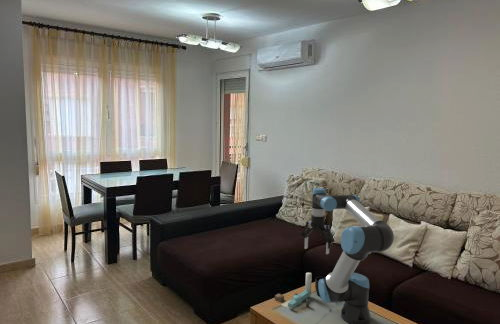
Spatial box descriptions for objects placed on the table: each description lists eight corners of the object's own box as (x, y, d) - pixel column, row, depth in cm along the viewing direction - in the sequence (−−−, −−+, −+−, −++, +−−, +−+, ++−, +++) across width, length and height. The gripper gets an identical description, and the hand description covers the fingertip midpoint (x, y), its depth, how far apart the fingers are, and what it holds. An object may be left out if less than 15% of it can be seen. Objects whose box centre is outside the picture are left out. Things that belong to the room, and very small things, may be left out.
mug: (335, 298, 212) (336, 283, 211) (315, 297, 213) (315, 282, 212) (333, 292, 220) (334, 277, 219) (314, 290, 221) (314, 276, 220)
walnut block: (284, 295, 207) (278, 293, 209) (280, 297, 204) (274, 295, 207) (283, 301, 207) (278, 299, 210) (280, 303, 204) (274, 301, 207)
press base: (312, 307, 201) (312, 298, 201) (302, 315, 193) (302, 306, 192) (290, 299, 210) (290, 290, 209) (280, 306, 201) (280, 298, 200)
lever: (312, 294, 211) (313, 273, 210) (293, 309, 194) (294, 286, 193) (305, 292, 214) (306, 271, 212) (286, 306, 197) (287, 283, 196)
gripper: (341, 217, 202) (339, 254, 205) (302, 210, 217) (300, 244, 219) (336, 220, 196) (334, 257, 199) (295, 212, 211) (294, 247, 213)
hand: (316, 251), depth 209 cm, fingers open, 13 cm apart
